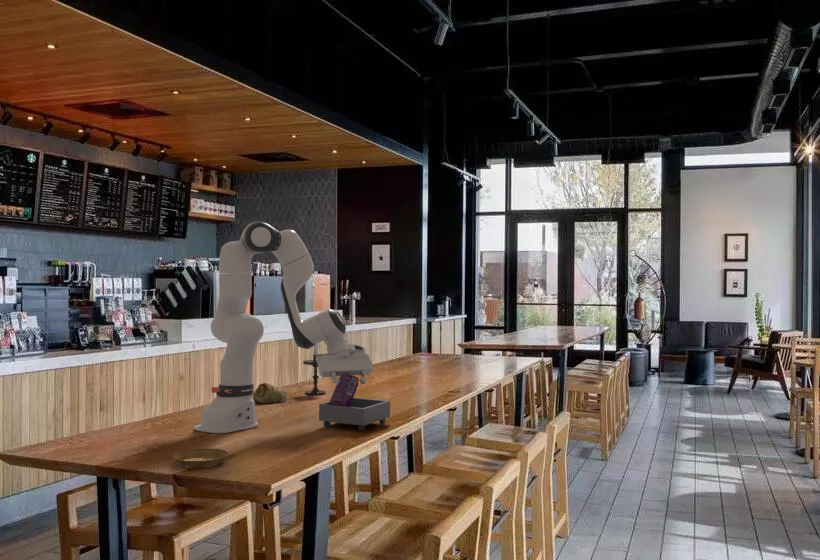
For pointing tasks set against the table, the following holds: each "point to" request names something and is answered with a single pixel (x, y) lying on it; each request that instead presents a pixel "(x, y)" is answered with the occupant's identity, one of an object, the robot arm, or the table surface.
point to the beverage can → (344, 390)
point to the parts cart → (355, 412)
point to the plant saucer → (206, 453)
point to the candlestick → (315, 376)
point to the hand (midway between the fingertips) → (351, 383)
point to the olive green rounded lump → (269, 394)
